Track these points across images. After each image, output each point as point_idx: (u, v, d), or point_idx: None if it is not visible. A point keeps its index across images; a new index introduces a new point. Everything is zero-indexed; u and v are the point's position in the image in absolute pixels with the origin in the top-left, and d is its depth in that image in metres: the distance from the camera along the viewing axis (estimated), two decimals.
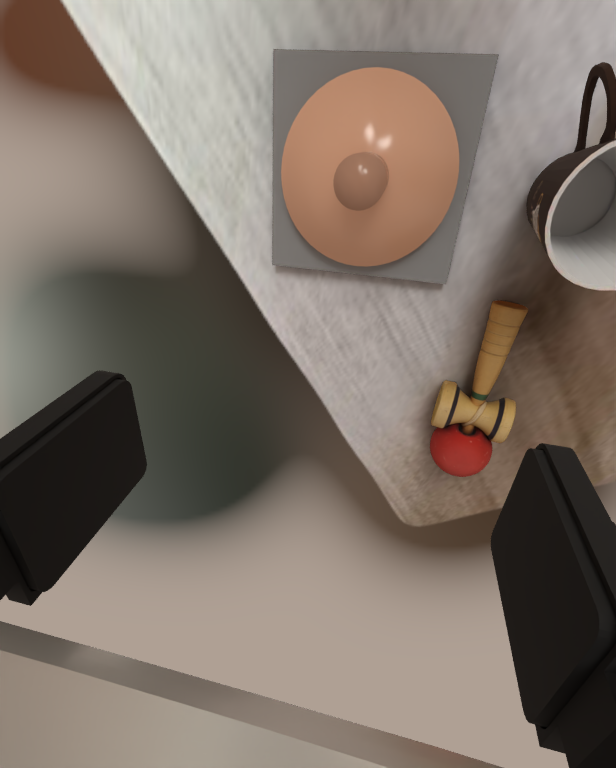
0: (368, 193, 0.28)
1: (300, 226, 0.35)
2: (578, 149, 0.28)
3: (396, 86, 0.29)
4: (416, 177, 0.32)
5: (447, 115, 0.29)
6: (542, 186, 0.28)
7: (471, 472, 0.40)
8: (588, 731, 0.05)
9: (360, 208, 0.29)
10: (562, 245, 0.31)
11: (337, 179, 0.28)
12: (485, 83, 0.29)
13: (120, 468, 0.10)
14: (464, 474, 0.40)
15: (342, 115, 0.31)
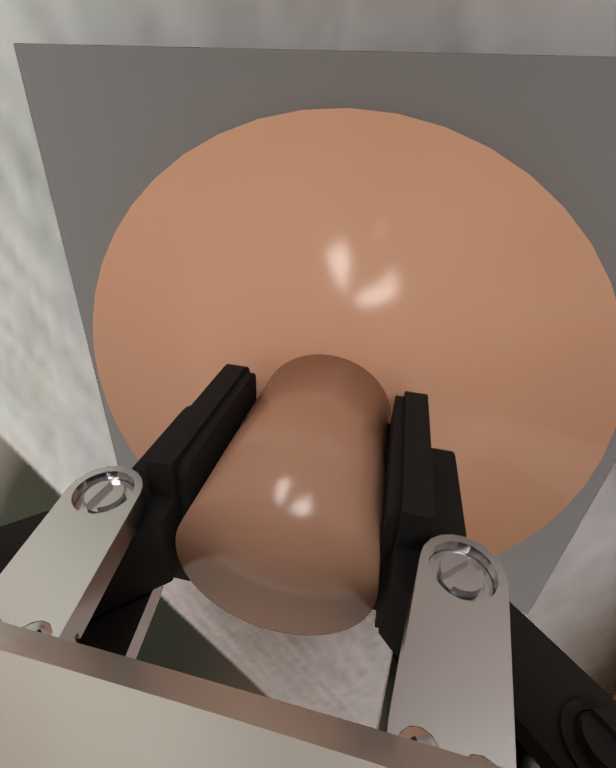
0: (311, 604, 0.07)
1: None
2: None
3: (418, 178, 0.08)
4: (475, 429, 0.10)
5: (601, 276, 0.08)
6: None
7: None
8: (386, 595, 0.07)
9: (287, 629, 0.08)
10: None
11: (189, 550, 0.07)
12: None
13: None
14: None
15: (241, 255, 0.10)
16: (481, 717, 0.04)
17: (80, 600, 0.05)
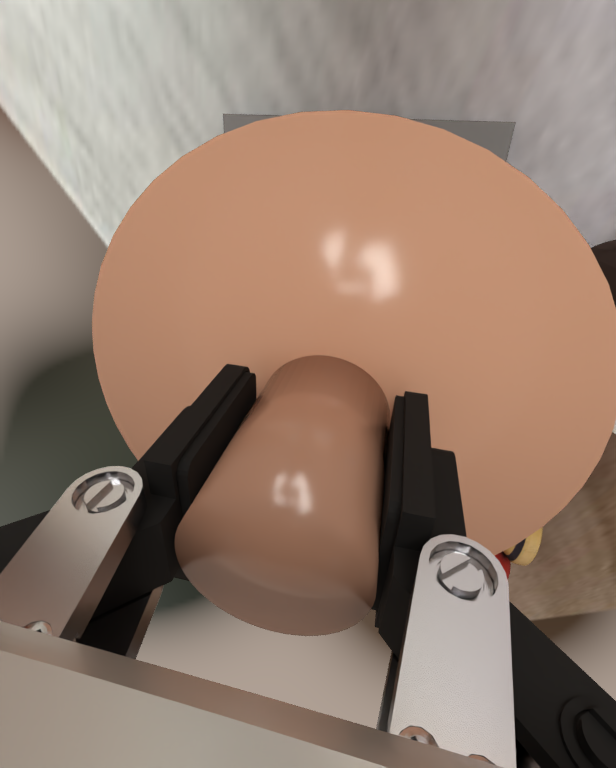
0: (310, 604, 0.07)
1: None
2: None
3: (417, 179, 0.08)
4: (474, 430, 0.10)
5: (598, 278, 0.08)
6: None
7: None
8: (386, 595, 0.07)
9: (285, 629, 0.08)
10: None
11: (188, 551, 0.07)
12: None
13: None
14: None
15: (240, 257, 0.10)
16: (481, 717, 0.04)
17: (80, 600, 0.05)
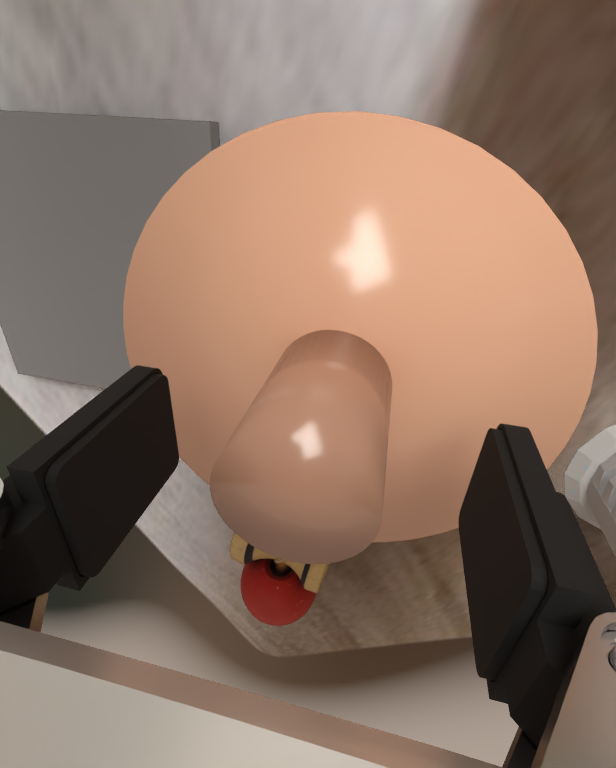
0: (325, 533, 0.09)
1: (189, 457, 0.15)
2: None
3: (416, 171, 0.09)
4: (467, 396, 0.12)
5: (574, 257, 0.09)
6: None
7: (282, 624, 0.30)
8: (523, 676, 0.06)
9: (303, 559, 0.09)
10: None
11: (222, 487, 0.08)
12: None
13: (157, 460, 0.10)
14: None
15: (260, 240, 0.11)
16: None
17: None
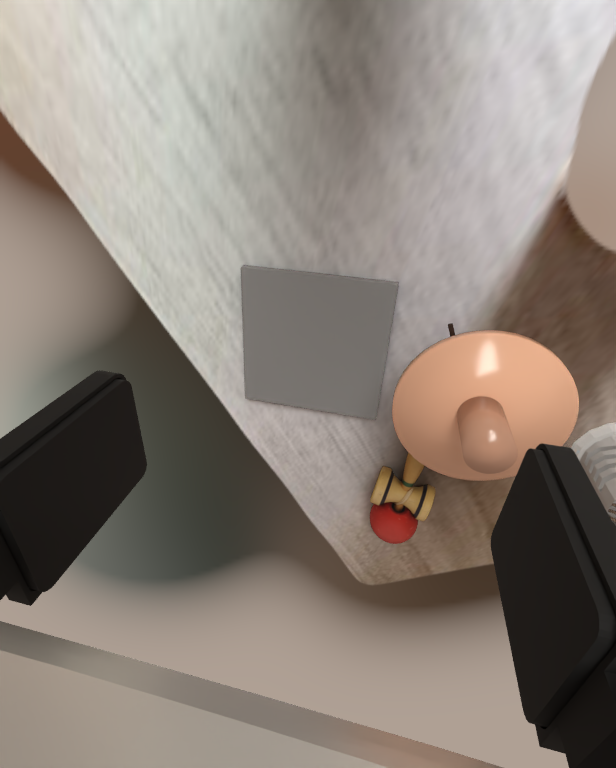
0: (498, 462, 0.29)
1: (406, 444, 0.36)
2: None
3: (522, 352, 0.30)
4: (532, 420, 0.32)
5: (571, 378, 0.30)
6: None
7: (399, 541, 0.50)
8: (588, 731, 0.05)
9: (488, 472, 0.30)
10: None
11: (468, 449, 0.29)
12: (391, 300, 0.40)
13: (120, 468, 0.10)
14: (394, 542, 0.50)
15: (463, 367, 0.31)
16: None
17: None
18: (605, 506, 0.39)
